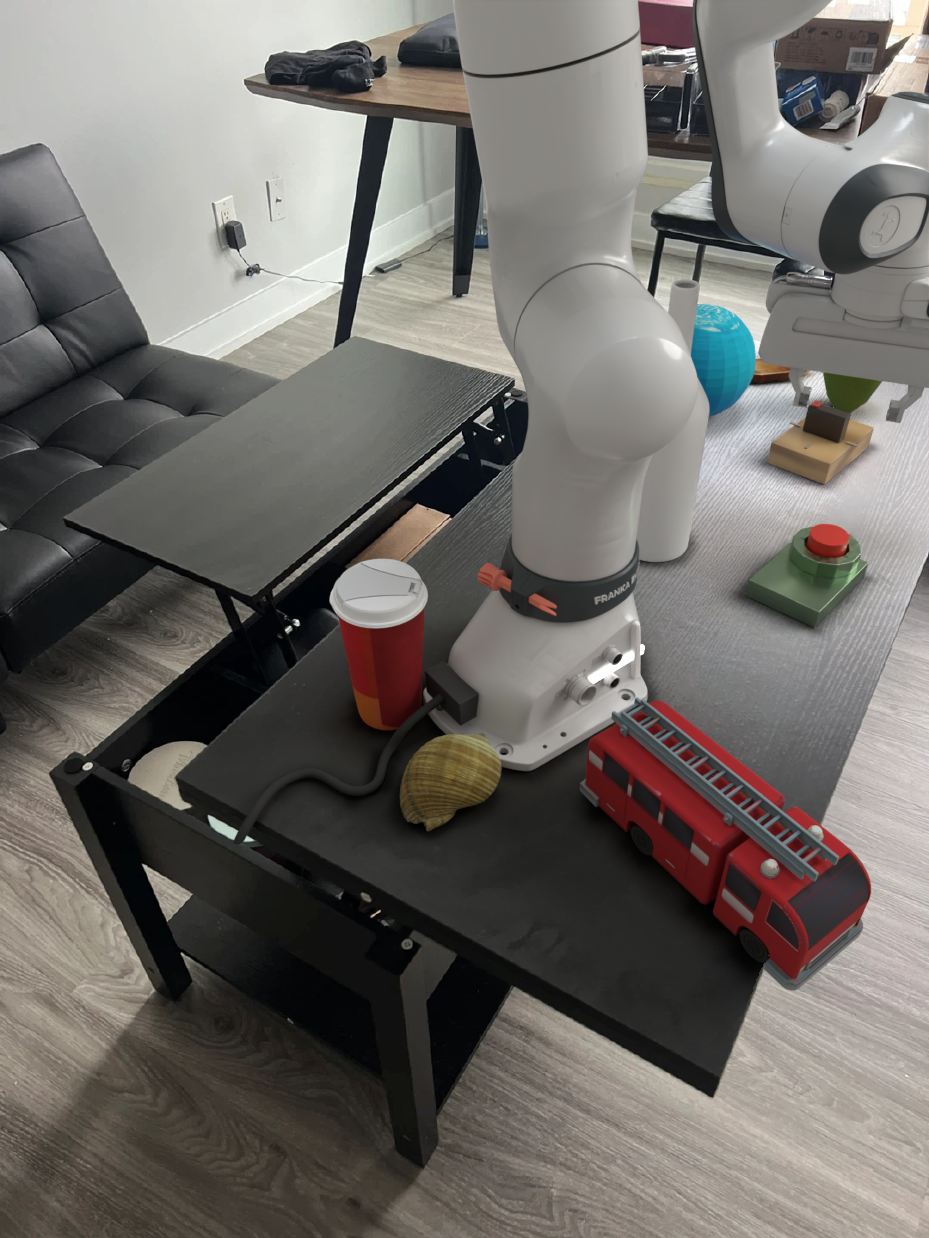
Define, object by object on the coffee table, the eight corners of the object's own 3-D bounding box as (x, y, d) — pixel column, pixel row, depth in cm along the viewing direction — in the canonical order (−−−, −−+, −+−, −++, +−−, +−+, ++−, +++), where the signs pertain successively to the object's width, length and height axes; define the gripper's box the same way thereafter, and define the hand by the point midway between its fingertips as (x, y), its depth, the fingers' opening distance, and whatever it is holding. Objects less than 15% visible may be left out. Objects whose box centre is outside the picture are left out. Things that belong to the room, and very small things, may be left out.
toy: (788, 1002, 63) (819, 925, 57) (576, 798, 78) (581, 717, 71) (861, 938, 67) (898, 858, 60) (645, 754, 81) (656, 673, 75)
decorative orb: (616, 417, 128) (626, 313, 118) (671, 378, 136) (683, 278, 126) (713, 450, 120) (731, 342, 110) (764, 406, 129) (785, 302, 119)
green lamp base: (814, 628, 93) (823, 598, 90) (745, 595, 97) (751, 565, 95) (867, 574, 99) (877, 545, 97) (800, 545, 104) (807, 517, 101)
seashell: (432, 856, 78) (477, 847, 72) (369, 808, 77) (408, 795, 70) (482, 765, 83) (528, 749, 77) (423, 719, 82) (465, 699, 75)
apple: (886, 422, 124) (911, 341, 117) (826, 425, 124) (846, 345, 116) (861, 392, 131) (883, 314, 123) (803, 396, 131) (821, 318, 123)
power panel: (829, 486, 113) (835, 464, 111) (762, 461, 118) (767, 439, 116) (872, 449, 119) (879, 427, 117) (807, 426, 124) (812, 405, 122)
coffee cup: (440, 682, 89) (435, 559, 79) (423, 744, 83) (416, 619, 73) (357, 673, 90) (342, 550, 80) (334, 734, 84) (315, 609, 74)
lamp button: (834, 563, 95) (838, 550, 94) (799, 548, 97) (802, 535, 96) (852, 546, 97) (856, 533, 96) (817, 532, 99) (821, 519, 98)
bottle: (650, 572, 101) (685, 307, 81) (602, 537, 106) (624, 281, 86) (703, 546, 104) (748, 286, 85) (654, 514, 109) (686, 262, 90)
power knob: (844, 438, 115) (851, 411, 113) (838, 443, 115) (845, 416, 112) (808, 425, 118) (814, 399, 116) (802, 430, 117) (808, 404, 115)
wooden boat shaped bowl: (814, 369, 137) (817, 358, 136) (823, 386, 133) (826, 374, 132) (718, 369, 138) (720, 358, 137) (724, 386, 134) (726, 375, 133)
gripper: (767, 280, 89) (741, 409, 98) (997, 308, 83) (947, 443, 92) (776, 259, 93) (751, 384, 102) (995, 284, 87) (948, 415, 96)
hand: (845, 412), depth 97 cm, fingers open, 8 cm apart
